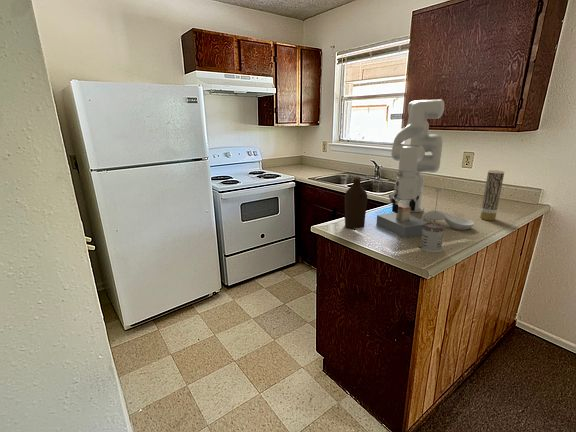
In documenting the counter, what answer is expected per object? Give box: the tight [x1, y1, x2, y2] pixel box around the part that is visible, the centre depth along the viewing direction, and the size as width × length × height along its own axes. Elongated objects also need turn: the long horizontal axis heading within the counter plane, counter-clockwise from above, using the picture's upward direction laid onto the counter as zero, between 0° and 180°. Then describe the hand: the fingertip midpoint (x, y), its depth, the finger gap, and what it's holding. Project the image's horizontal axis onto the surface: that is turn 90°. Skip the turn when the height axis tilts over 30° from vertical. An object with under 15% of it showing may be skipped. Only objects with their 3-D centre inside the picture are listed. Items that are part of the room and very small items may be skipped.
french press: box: [418, 187, 446, 253], centre depth 125 cm, size 10×12×25 cm
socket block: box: [376, 212, 430, 239], centre depth 146 cm, size 20×14×6 cm
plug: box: [396, 204, 411, 221], centre depth 145 cm, size 4×4×11 cm
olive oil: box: [344, 175, 368, 231], centre depth 150 cm, size 11×11×25 cm
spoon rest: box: [420, 209, 475, 231], centre depth 152 cm, size 24×12×7 cm, turn 61°
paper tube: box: [480, 169, 505, 221], centre depth 159 cm, size 7×7×25 cm
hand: (403, 211), depth 144 cm, fingers open, 9 cm apart
